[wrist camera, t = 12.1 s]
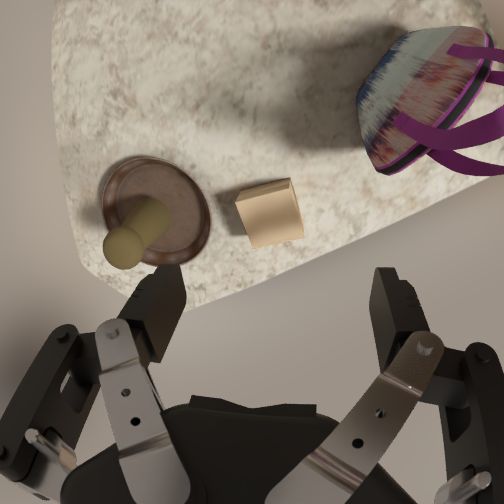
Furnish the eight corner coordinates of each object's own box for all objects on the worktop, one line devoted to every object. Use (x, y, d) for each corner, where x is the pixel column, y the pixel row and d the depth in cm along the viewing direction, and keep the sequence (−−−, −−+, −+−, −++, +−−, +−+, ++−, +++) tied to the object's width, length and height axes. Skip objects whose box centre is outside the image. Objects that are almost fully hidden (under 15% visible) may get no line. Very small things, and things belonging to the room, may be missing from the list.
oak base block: (240, 191, 43) (234, 202, 40) (290, 177, 41) (289, 188, 38) (256, 234, 46) (253, 249, 43) (304, 223, 44) (304, 237, 41)
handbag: (421, 7, 26) (544, -35, 5) (475, 60, 28) (616, 83, 7) (329, 126, 37) (371, 205, 16) (388, 172, 39) (469, 291, 18)
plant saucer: (184, 132, 40) (176, 137, 38) (235, 241, 48) (231, 252, 46) (93, 179, 45) (83, 186, 43) (143, 267, 53) (136, 278, 51)
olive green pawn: (151, 243, 46) (120, 285, 37) (125, 213, 44) (87, 249, 35) (179, 221, 44) (150, 261, 34) (151, 189, 42) (113, 221, 32)
